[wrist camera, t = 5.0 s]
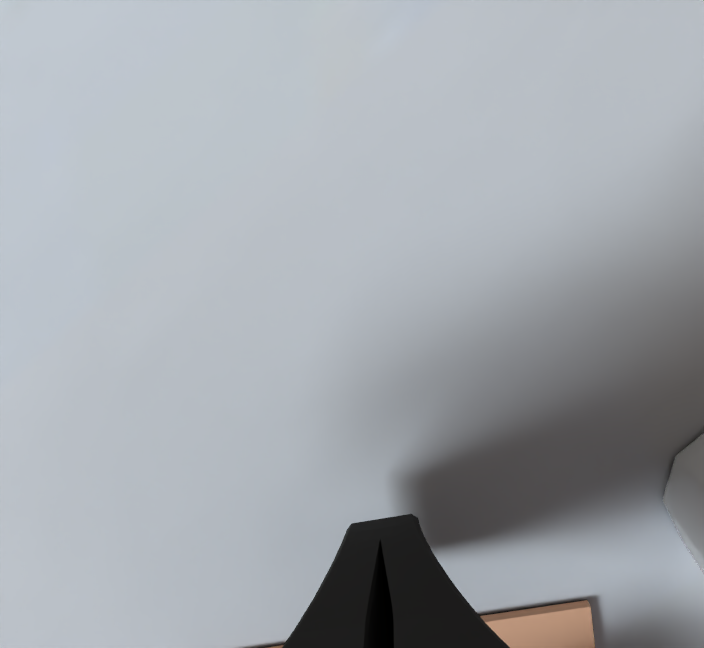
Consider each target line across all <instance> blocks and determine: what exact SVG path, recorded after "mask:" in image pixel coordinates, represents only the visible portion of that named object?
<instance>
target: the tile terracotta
mask: <svg viewBox="0 0 704 648" xmlns="http://www.w3.org/2000/svg"><path fill="white" fill-rule="evenodd" d="M480 617H481V618H482V619H483V621H484V622H485V623H486V624H487V625H488V626H489V627H490V628H491V629H492V630H493V631H494V632H495V633H496V634H497V635H498V636H499V637H500V638H501V639H502V640H503V641H504V642H505V643H506V644H507V645H508V646H509V647H510V648H595V642H594V633H593V624H592V615H591V607H590V605H589V602H588V600H585V601H578V602H571V603H565V604H558V605H551V606H544V607H538V608H531V609H524V610H517V611H511V612H504V613H497V614H490V615H484V616H480ZM282 647H283V645H281V646H274V647H267V648H282Z"/></svg>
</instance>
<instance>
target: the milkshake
mask: <svg viewBox="0 0 704 648" xmlns="http://www.w3.org/2000/svg"><path fill="white" fill-rule="evenodd" d="M663 502H664V505H665V507H666V509H667V511H668V513H669V515H670V517H671V519H672V521H673V523H674V525H675V528H676V530H677V532H678V534H679V536H680V538H681V540H682V542H683V543H684V545H685V547H686V548H687V550H688V551H689V553H690V554H691V556H692V557H693V559H694V560H695V562H696V563H697V565H698V566H699V568H700V569H701V571H702V572H703V574H704V433H703V434H702V435H700V436H699V437H698V438H697V439H696V440H694V441H693V442H692V443H691V444H690V445H688V446H687V447H686V448H685V449H683V450H682V451H681V452H680V453H678V454H677V455H676V456H675V459H674V462H673V466H672V469H671V473H670V476H669V479H668V483H667V486H666V489H665V493H664V496H663Z"/></svg>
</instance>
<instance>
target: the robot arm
mask: <svg viewBox="0 0 704 648" xmlns="http://www.w3.org/2000/svg"><path fill="white" fill-rule="evenodd" d="M282 648H510V647H509V646H508V645H507V644H506V643H505V642H504V641H503V640H502V639H501V638H500V637H499V636H498V635H497V634H496V633H495V632H494V631H493V630H492V629H491V628H490V627H489V626H488V625H487V624H486V623H485V622H484V621H483V619H482V618H481V617H480V616H479V615H478V614H477V613H476V612H475V610H474V609H473V608H472V607H471V606H470V604H469V603H468V602H467V601H466V599H465V598H464V597H463V596H462V594H461V593H460V592H459V591H458V589H457V588H456V587H455V585H454V584H453V583H452V581H451V580H450V578H449V577H448V575H447V574H446V572H445V571H444V569H443V568H442V566H441V565H440V563H439V562H438V560H437V559H436V557H435V556H434V554H433V552H432V550H431V549H430V547H429V545H428V543H427V541H426V539H425V537H424V535H423V533H422V530H421V528H420V525H419V520H418V518H417V517H415V516H414V515H413V514H408V515H402V516H396V517H390V518H384V519H377V520H371V521H365V522H359V523H353V524H351V525H350V527H349V528H348V529H347V531H346V534H345V536H344V539H343V541H342V544H341V546H340V548H339V550H338V552H337V555H336V557H335V559H334V561H333V563H332V565H331V567H330V569H329V571H328V573H327V575H326V577H325V578H324V580H323V582H322V584H321V586H320V588H319V590H318V592H317V593H316V595H315V597H314V599H313V600H312V602H311V604H310V605H309V607H308V609H307V610H306V612H305V613H304V615H303V617H302V618H301V620H300V622H299V623H298V625H297V626H296V628H295V629H294V631H293V632H292V634H291V635H290V637H289V638H288V640H287V641H286V643H285V644H284V645H283V647H282Z"/></svg>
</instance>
